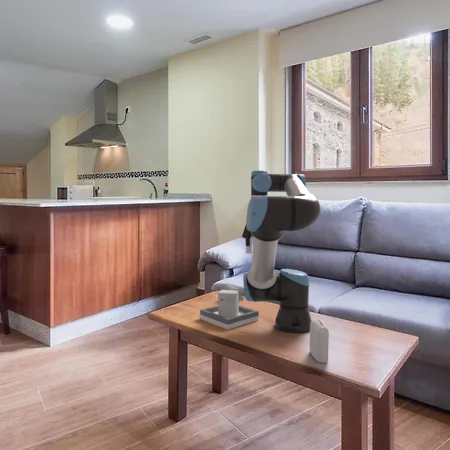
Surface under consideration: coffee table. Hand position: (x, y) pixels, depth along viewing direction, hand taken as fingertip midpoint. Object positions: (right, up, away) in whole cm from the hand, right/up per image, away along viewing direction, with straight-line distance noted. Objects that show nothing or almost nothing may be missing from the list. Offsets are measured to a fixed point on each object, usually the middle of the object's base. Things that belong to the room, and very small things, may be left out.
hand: (258, 252), depth 174 cm
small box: (-14, -27, -9) cm, 32 cm away
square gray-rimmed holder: (-13, -29, -8) cm, 33 cm away
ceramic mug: (-11, -27, +23) cm, 37 cm away
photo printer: (+16, -32, -46) cm, 59 cm away
